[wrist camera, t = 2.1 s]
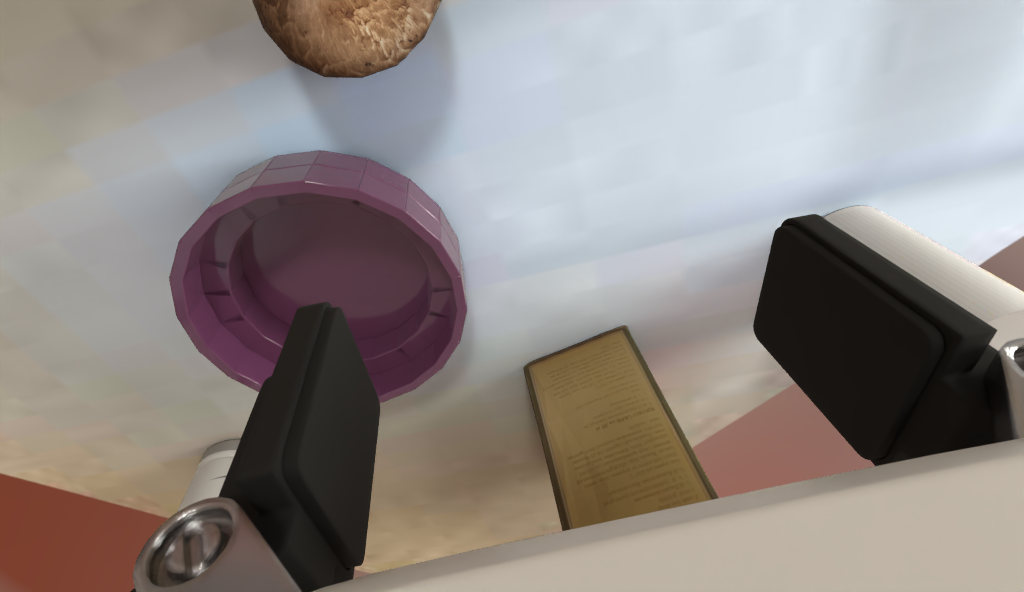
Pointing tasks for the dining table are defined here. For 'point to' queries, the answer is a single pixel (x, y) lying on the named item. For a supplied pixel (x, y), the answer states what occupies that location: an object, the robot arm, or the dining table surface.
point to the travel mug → (210, 473)
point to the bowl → (322, 268)
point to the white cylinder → (938, 269)
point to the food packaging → (610, 434)
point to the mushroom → (346, 32)
